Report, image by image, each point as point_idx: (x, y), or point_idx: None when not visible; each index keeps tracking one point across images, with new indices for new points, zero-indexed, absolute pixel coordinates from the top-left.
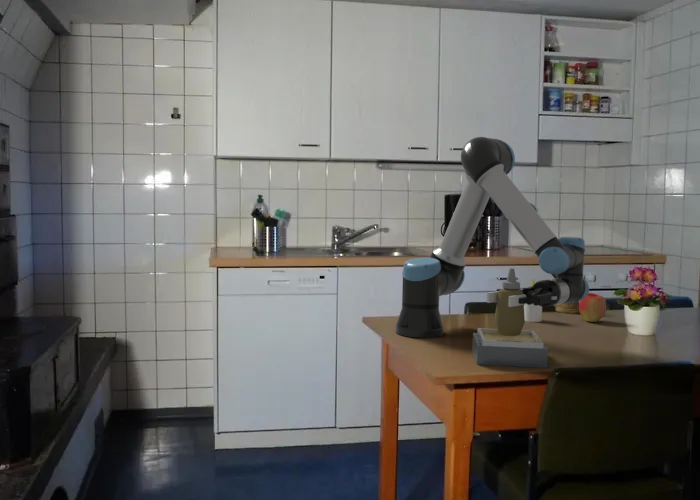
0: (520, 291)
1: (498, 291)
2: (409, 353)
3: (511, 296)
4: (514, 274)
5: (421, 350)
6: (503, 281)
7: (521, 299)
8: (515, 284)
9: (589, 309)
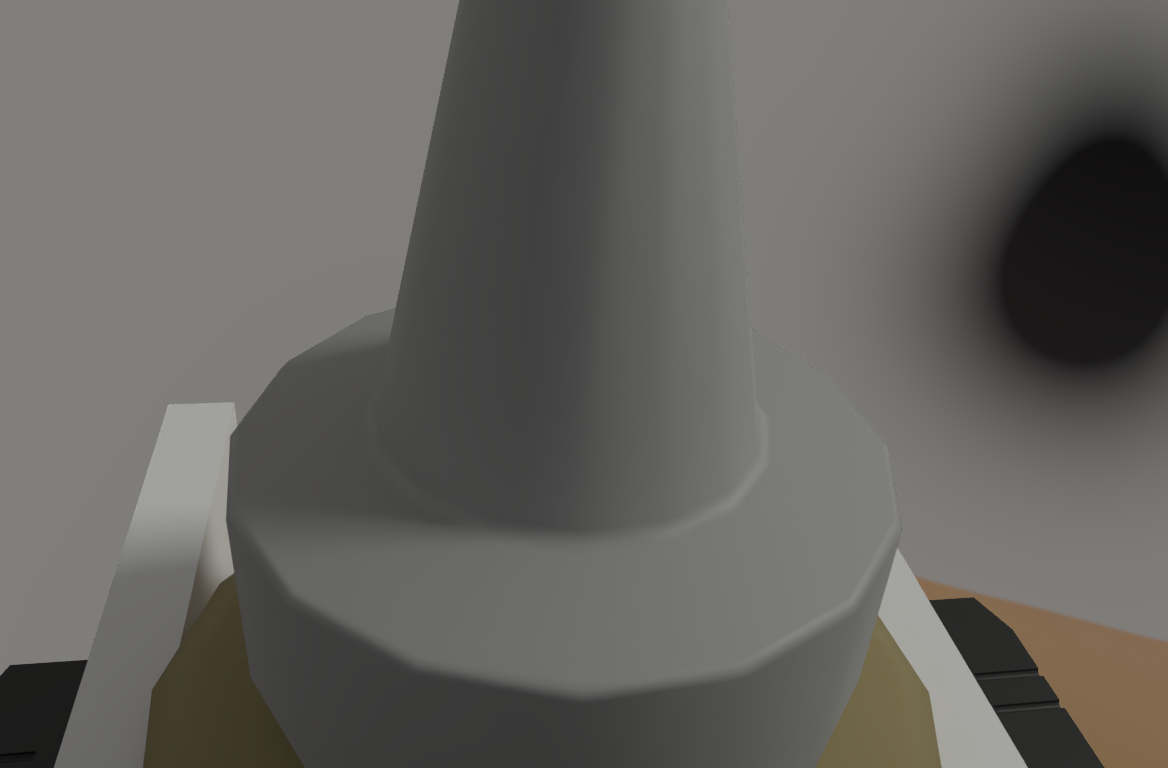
0: (197, 745)
1: (913, 631)
2: (1011, 601)
3: (175, 423)
4: (433, 130)
5: (1111, 721)
6: (781, 353)
7: (26, 683)
8: (274, 404)
9: None
